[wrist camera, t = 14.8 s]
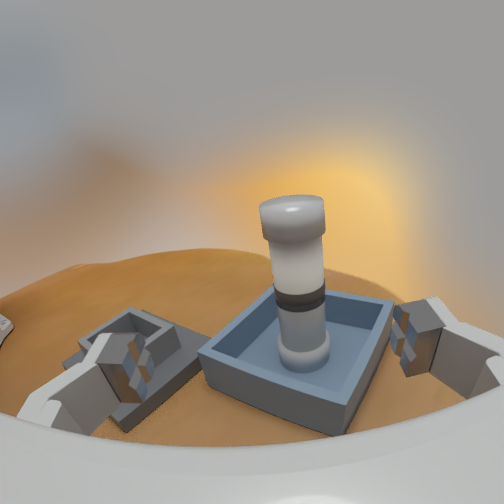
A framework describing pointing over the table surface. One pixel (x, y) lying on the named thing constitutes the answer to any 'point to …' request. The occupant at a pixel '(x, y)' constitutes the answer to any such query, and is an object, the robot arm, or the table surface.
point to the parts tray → (301, 384)
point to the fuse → (298, 278)
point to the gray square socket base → (162, 351)
